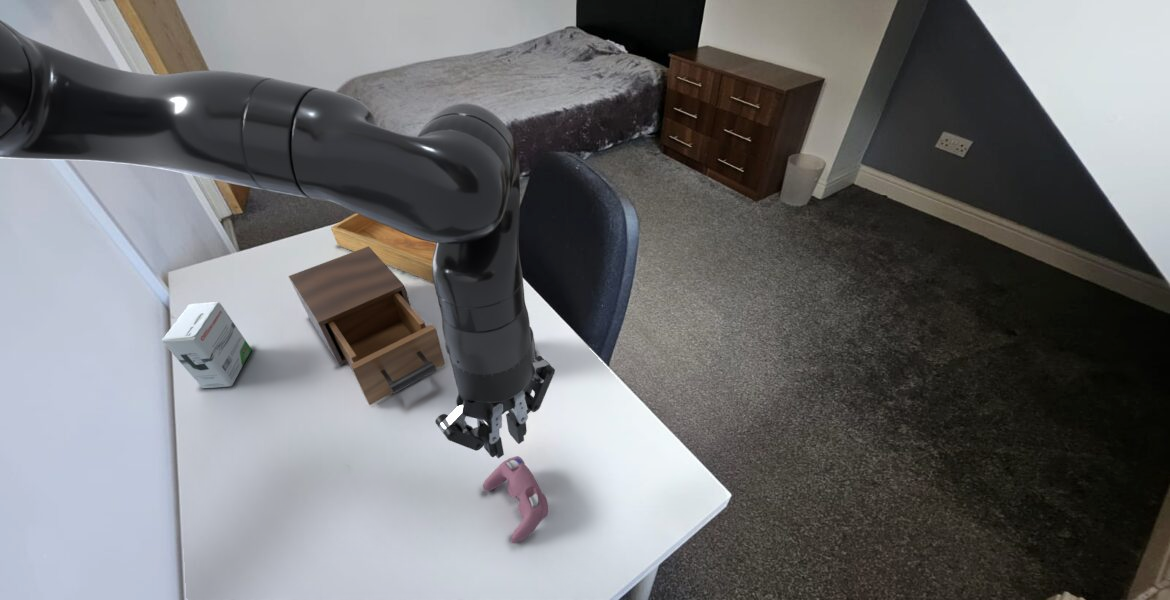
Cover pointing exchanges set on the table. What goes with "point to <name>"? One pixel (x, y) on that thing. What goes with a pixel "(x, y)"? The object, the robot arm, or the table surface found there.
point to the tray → (386, 244)
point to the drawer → (387, 346)
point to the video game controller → (520, 494)
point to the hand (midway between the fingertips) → (506, 443)
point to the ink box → (208, 344)
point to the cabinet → (344, 290)
